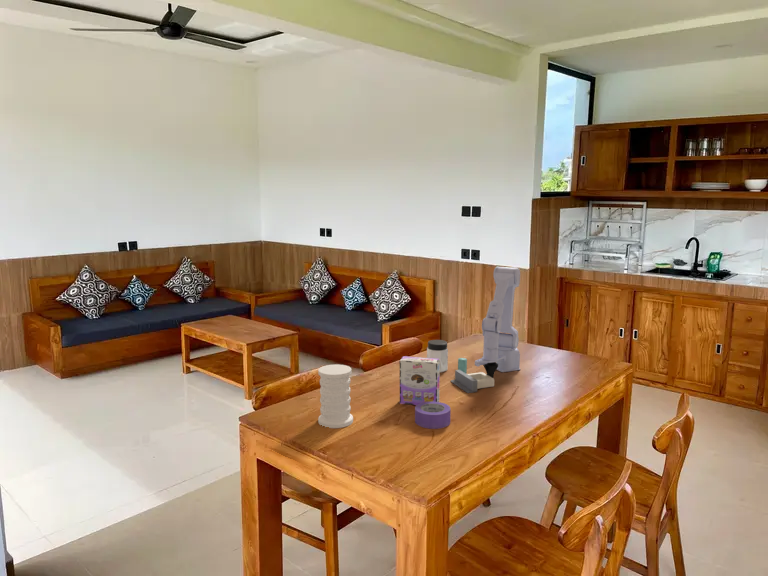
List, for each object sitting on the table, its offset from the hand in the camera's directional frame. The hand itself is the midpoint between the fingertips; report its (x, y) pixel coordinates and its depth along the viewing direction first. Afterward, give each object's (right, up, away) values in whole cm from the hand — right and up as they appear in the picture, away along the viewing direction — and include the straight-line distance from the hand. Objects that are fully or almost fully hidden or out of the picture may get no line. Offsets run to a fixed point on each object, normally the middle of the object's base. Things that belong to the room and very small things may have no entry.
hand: (489, 380), depth 234 cm
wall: (-10, -2, -4) cm, 11 cm away
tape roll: (-26, -8, -37) cm, 46 cm away
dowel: (-10, +1, +9) cm, 14 cm away
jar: (-19, +2, +17) cm, 26 cm away
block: (-5, -1, -2) cm, 5 cm away
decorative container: (-58, -8, -37) cm, 69 cm away
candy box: (-29, -5, -20) cm, 36 cm away
